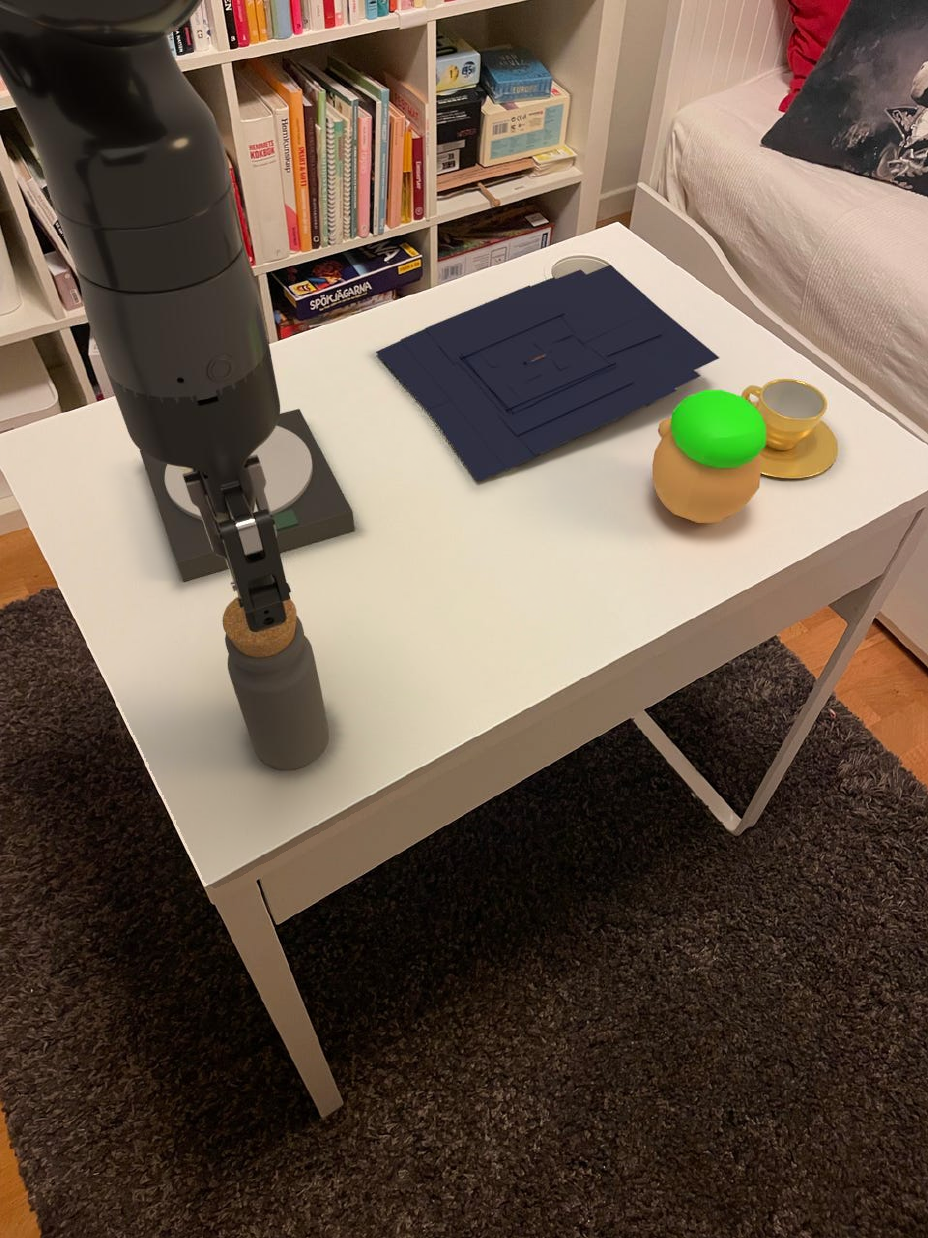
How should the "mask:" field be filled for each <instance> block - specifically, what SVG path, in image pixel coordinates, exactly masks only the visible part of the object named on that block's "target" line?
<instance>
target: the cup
mask: <svg viewBox="0 0 928 1238" xmlns="http://www.w3.org/2000/svg"><path fill="white" fill-rule="evenodd" d="M751 395H753V396H755V397H756V398H757V401H751ZM740 396H741V397H743V398H745V399H746V400H747V401H748V402H750V403H751V404H752V405H753V406H754V407H755V408H756V409H757V410H758V411H759V412H760V414H761V416H762V418H763V420H764V422H765V424H766V446H765V447H764V448H763V449H762V450H761V451H760V455H761V457H762V463H761V474H763V475H766V476H771V477H774V478H783V479H801V478H808V477H812V476H814V475H818V474H820V473H823V472H824V471H826V470H827V469H829V468H830V467H831V466H832V465H833V463H834V462H835V461H836V459H837V457H838V453H839V445H838V441H837V437H836V435H835V434H834V432H833V431H832V429H831V428H830V427H829V426H828V425H827V424H826V423H825V422H824V420H822V418H823V416H824V415H825V413H826V412H827V409H828V400H827V398H826V396H825V395H824V394H823V393H822V391H821V390H820V389H818V388H817V387H816V386H813V385H812V384H810V383H807V382H805V381H802V380H798V379H794V378H793V379H792V378H779V379H773V380H771V381H768V382H766V383H765V384H764V385H763V386H762V387H760V386H757V385H754V384H753V385H749V386H748V385H747V387H746V388H744V389H743V391H742V393H741V395H740Z"/></svg>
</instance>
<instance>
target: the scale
mask: <svg viewBox="0 0 928 1238" xmlns="http://www.w3.org/2000/svg"><path fill="white" fill-rule="evenodd" d="M139 453H140V456H141V459H142V463H143V465H144V468H145V471H146V475H147V478H148V480H149V484H150V486H151V489H152V493H153V496H154V499H155V501H156V506H157V508H158V511H159V515H160V517H161V520H162V523H163V526H164V529H165V532H166V535H167V538H168V542H169V544H170V548H171V550H172V553H173V556H174V559H175V562H176V565H177V568H178V571H179V574H180V576H181V579H182V581H183V582H188V581H191V580H194V579H197V578H201V577H204V576H208V575H210V574H215V573H218V572H220V571H224V570H229V568H228V565H227V562H226V559H225V558H223V557H219V556H217V555H216V554H215V553H214V551H213V550H212V547H211V544H210V541H209V538H208V535H207V532H206V529H205V526H204V523H203V520H202V517H201V514H200V511H199V508H198V507H197V506H195V505H194V504H193V503H192V501H191V500H190V497H189V494H188V491H187V488H186V485H185V482H184V479H183V476H182V474H185V473H184V470H180V469H179V467H178V466H173V465H169V464H165V463H162V462H160V461H157V460H155V459H153V458H151V457H149V456H148V455H146V454H145V453H143V452H142V451H141V450H140V449H139ZM255 454H257V455H258V458H259V460H260V463H261V466H262V469H263V473H264V476H265V479H266V486H265V488H264V492H265V495H266V499H267V502H268V505H269V508H270V511H271V515H273V518H274V521H275V528H276V531H277V538H276V539H277V543H278V547H279V552H280V554H281V553H284V552H288V551H291V550H295V549H297V548H301V547H304V546H307V545H311V544H315V543H317V542H322V541H325V540H328V539H331V538H334V537H337V536H342V535H345V534H348V533H351V532H354V531H355V521H354V512H353V509H352V507H351V506H350V504H349V502H348V499H347V497H346V496H345V494H344V492H343V490H342V488H341V486H340V484H339V482H338V480H337V478H336V477H335V474H334V473H333V471H332V469H331V467H330V465H329V463H328V461H327V459H326V457H325V455H324V453H323V452H322V449H321V448H320V446H319V444H318V442H317V439H316V438H315V436H314V434H313V432H312V430H311V428H310V425H308V422H307V421H306V419H305V416H304V414H303V413H302V411H301V409H300V408H297V409H292V410H289V411H285V412H280V416H279V420H278V423H277V425H276V427H275V429H274V431H273V432H272V434H271V435H270V436H269V438H268V439H267V440H266V441H265V442H264V443H263V444H262V445H260V446H259V447H258V448H257V449H256V450H255V451H254V452H253V453H252V454H251V455H250V456H252V455H255ZM257 511H258V509H257V506H256V503H255V509H254V512H257Z"/></svg>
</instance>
